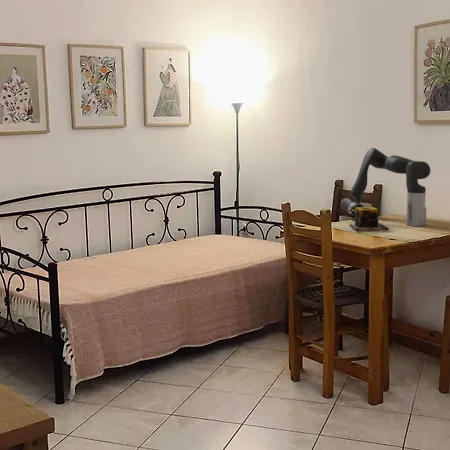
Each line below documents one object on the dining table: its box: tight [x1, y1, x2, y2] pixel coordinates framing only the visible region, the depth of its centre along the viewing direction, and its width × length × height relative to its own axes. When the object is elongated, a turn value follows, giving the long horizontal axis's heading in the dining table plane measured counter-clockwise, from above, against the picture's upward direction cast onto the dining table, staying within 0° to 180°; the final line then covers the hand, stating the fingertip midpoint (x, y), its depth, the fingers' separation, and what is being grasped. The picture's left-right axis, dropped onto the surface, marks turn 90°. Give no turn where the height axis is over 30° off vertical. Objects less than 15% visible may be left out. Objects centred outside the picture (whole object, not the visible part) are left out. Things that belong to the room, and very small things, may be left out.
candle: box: [354, 206, 379, 228], centre depth 361 cm, size 10×10×10 cm
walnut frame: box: [348, 222, 389, 232], centre depth 358 cm, size 16×15×2 cm
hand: (364, 214), depth 366 cm, fingers closed
